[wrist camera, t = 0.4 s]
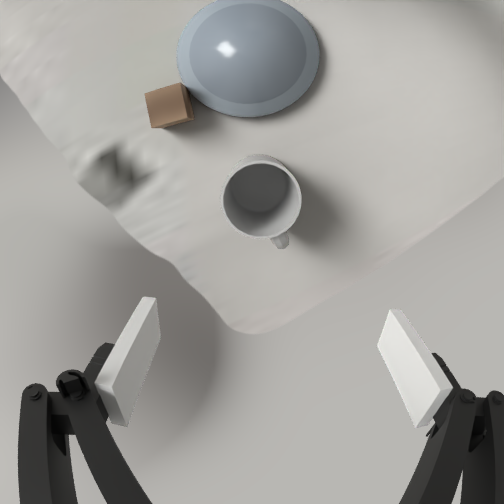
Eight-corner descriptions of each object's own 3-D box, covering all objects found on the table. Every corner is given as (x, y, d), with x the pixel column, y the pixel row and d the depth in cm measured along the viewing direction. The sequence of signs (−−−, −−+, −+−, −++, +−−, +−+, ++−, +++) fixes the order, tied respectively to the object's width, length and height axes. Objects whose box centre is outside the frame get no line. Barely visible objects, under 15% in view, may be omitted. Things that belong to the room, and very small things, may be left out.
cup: (275, 144, 33) (282, 147, 24) (307, 220, 36) (323, 246, 28) (217, 169, 34) (206, 181, 25) (253, 242, 37) (253, 275, 29)
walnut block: (156, 97, 30) (144, 93, 27) (188, 87, 30) (180, 82, 26) (162, 128, 32) (151, 127, 28) (194, 119, 32) (187, 117, 28)
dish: (186, -2, 25) (184, -5, 24) (319, 5, 25) (321, 1, 24) (174, 116, 31) (171, 115, 30) (313, 123, 32) (315, 123, 30)
